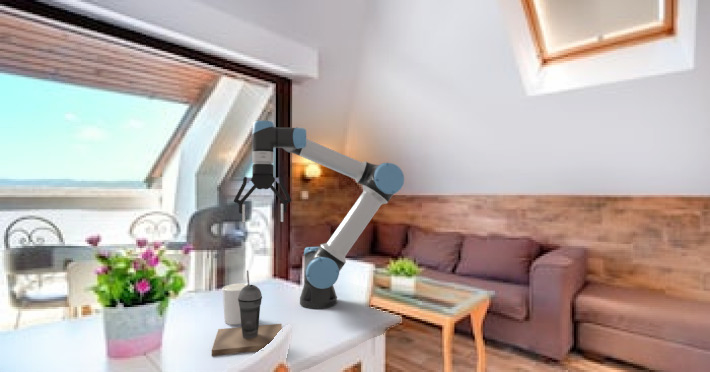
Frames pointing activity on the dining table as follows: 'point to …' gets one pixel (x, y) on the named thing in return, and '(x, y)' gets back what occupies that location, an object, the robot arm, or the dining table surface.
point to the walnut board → (243, 339)
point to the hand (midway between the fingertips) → (263, 222)
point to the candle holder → (232, 303)
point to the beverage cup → (250, 309)
